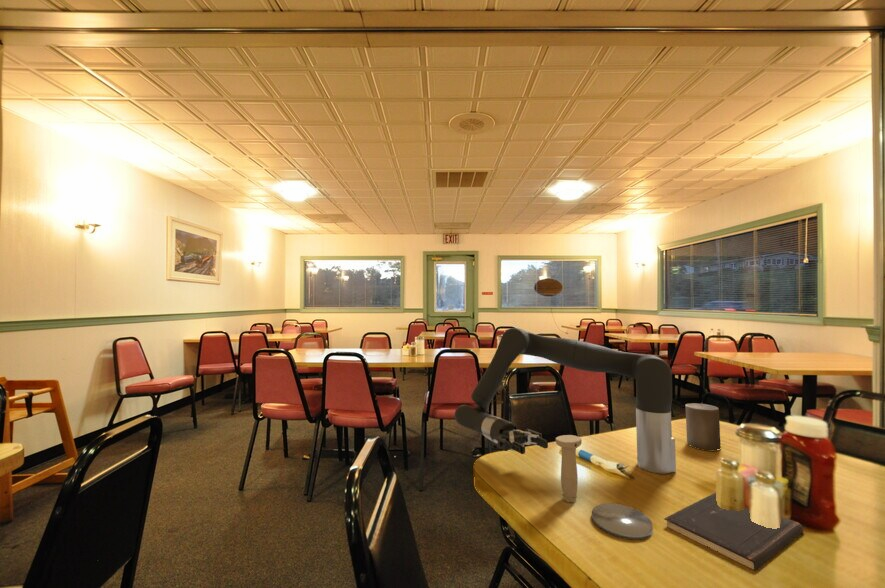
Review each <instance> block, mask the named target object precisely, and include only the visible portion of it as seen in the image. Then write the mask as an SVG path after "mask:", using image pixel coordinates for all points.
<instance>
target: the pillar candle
mask: <svg viewBox="0 0 885 588" xmlns="http://www.w3.org/2000/svg"><path fill="white" fill-rule="evenodd" d="M684 407H685V422H686V423H685V425H686V426H685V429H686V444H687V443H688V444H689V445H691V446H693V447H696V448H695V449H697V448H699V449H698V450H701V449H704V450H703V451H707V450H717V449H720V448H721V442H722V441H721V426H720V409H719V406H718V407H717V406H715V405H711V404H706V403H703V402H701V403H695V402H694V403H693V402H692V403H686V404H685V406H684ZM688 444H687V445H688ZM689 445H688V446H689ZM691 446H690V447H691ZM693 447H692V448H693ZM721 449H722V448H721Z"/></svg>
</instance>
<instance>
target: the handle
mask: <svg viewBox="0 0 885 588" xmlns="http://www.w3.org/2000/svg"><path fill="white" fill-rule="evenodd" d="M555 444H556V445H557V446H559V447H561V467H560V484H561V492H562V493H561V494H562V495H561V496H562V500H564V501H565V502H566V503H575V502H576V500H577V497H578V488H579V487H578V485H579V484H578V483H579V481H578V480H579V478H578V466H577V448H579V447H580V446H581V445H582V438H581V437H579V436H577V435H573V434H566V435H565V434H563V435H559V436H557V437H555Z"/></svg>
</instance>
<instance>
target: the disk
mask: <svg viewBox="0 0 885 588" xmlns="http://www.w3.org/2000/svg"><path fill="white" fill-rule="evenodd" d="M591 519H592V522H593V523H594V525H595V526H597V528H598V529H600V530H601V531H603V532H605V533H606V534H608V533H609V535H611V536H613V537H616V538H619V537H620V539H624V540H627V541H628V540H630V541H631V540H632V541H641V540H645V539H648V538H651V536H652V535H653V532H654V531H653V522H652V520H651V519H650V518H649V517H648V516H647V515H646V514H644V513H643V512H642V511H640V510H638V509H636V508H634V507H631V506H628V505H624V504H620V503H611V502H610V503H609V502H605V503H600V504H598V505H595V506H594V507H593V508H592V510H591Z"/></svg>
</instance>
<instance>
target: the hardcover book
mask: <svg viewBox="0 0 885 588" xmlns="http://www.w3.org/2000/svg"><path fill="white" fill-rule="evenodd" d="M663 519H664V520H665V521H666V527H667V528H669V529H671V530H673V531H675V532H677V533H678V534H681V535H683V536H685V537H686V538H689V539H691V540H693V541H695V542H696V543H699V544H701V545H703V546H705V547H707V546H708V547H707V548H709V547H710V548H709V549H711V550H713V551H715V552H717V551H718V552H717V553H718V554H721V555H723V556H725V557H727V558H728V559H731V560H733V561H736V562H737V563H739V564H741V565H743V566H745V567H747V568H749V569H750V570H753V571H754V572H756V571H757V570H759V569H761V567H763V566H764V565H765V564H766V563H768V561H770V560H771V559H772V558H774V557H775V556H776V555H777V554H778V553H780V552H781V551H782V550H783V549H785V548H786V547H787V546H789V543H790V544H791V543H792V542H793V541H795V540H796V539H797V538H798V537H800V536H801V535H802V534H803V533H804V529H803V528H804V527H803V525H802V524H801V523H800V522H798V521H795V520H793V519H789V518H787V517H784V516H782V518H781V524H780V528H777V529H772V528H766V527H764V526H761V525H758V524H756V523H754V522H752V521H751V519H750V513H749V508H745V509H744V510H740V511H734V510H726V509H722V508H720V507H719V506H718V505H717V501H716V492H714V493H711V494H710V495H707V496H706V497H704V498H702V499H700V500H698V501H696V502H694V503H692V504H690V505H688V506H686V507H684V508H682V509H680V510H677V511H676V512H674V513H671V514H670V515H668V516H665V517H664V518H663ZM801 533H802V534H801ZM800 534H801V535H800ZM799 535H800V536H799ZM796 537H797V538H796ZM795 538H796V539H795ZM794 539H795V540H794ZM779 551H780V552H779Z"/></svg>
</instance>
